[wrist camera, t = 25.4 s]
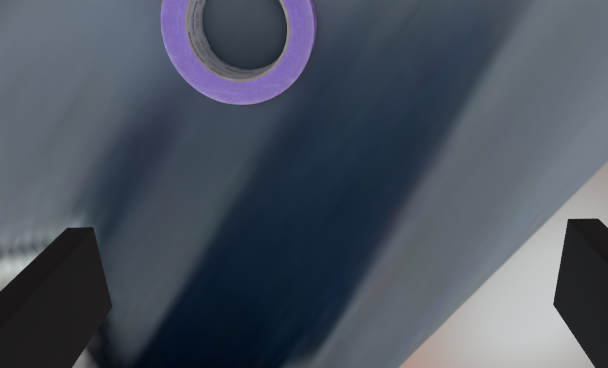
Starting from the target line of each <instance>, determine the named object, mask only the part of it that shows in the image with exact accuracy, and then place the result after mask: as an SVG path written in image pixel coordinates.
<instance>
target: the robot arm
mask: <svg viewBox="0 0 608 368" xmlns="http://www.w3.org/2000/svg"><path fill="white" fill-rule="evenodd" d="M553 305H554V306H555V308H556V309H557V311H558V312H559V314H560V315H561V317H562V318H563V320H564V321H565V323H566V324H567V326H568V327H569V329H570V330H571V332H572V333H573V335H574V336H575V338H576V339H577V341H578V342H579V344H580V345H581V347H582V348H583V350H584V351H585V353H586V354H587V356H588V357H589V359H590V360H591V362H592V364H593V365H594V366H595V368H608V228H607V227H606V226H605V225H604V224H603V223H602V222H601V221H600V220H599V219H568V223H567V228H566V234H565V240H564V246H563V251H562V257H561V264H560V269H559V274H558V280H557V286H556V292H555V297H554V303H553ZM111 308H112V305H111V300H110V296H109V292H108V288H107V283H106V279H105V275H104V271H103V267H102V262H101V258H100V254H99V250H98V245H97V241H96V237H95V233H94V228H93V227H86V228H67V229H66V230H65V231H64V232H62V233H61V234H60V235H59V236H58V237H57V238H56V239H55V240H54V241H53V242H52V243H51V244H50V245H49V246H48V247H47V248H46V249H45V250H44V251H42V252H41V253H40V254H39V255H38V256H37V257H36V258H35V259H34V260H33V261H32V262H31V263H30V264H29V265H28V266H27V267H26V268H25V269H24V270H22V271H21V272H20V273H19V274H18V275H17V276H16V277H15V278H14V279H13V280H12V281H11V282H10V283H9V284H8V285H7V286H6V287H5V288H4V289H2V290H1V291H0V368H72V367H73V365H74V364H75V362H76V361H77V359H78V358H79V356H80V355H81V353H82V352H83V350H84V349H85V347H86V346H87V344H88V343H89V341H90V340H91V338H92V337H93V335H94V334H95V332H96V331H97V329H98V328H99V326H100V325H101V323H102V322H103V320H104V319H105V317H106V316H107V314H108V313H109V311H110V310H111Z"/></svg>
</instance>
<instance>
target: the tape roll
mask: <svg viewBox="0 0 608 368" xmlns="http://www.w3.org/2000/svg"><path fill="white" fill-rule="evenodd" d="M279 1H280V3H281V5H282V7H283V9H284V12H285V16H286V21H287V39H286V43H285V47H284V50H283V52H282V54H281V56H280V57H279V58H278V59H277V60H276V61H274V62H273V63H271V64H270V65H267V66H265V67H262V68H259V69H240V68H236V67H234V66H232V65H230V64H228V63H226V62H224V61H223V60H222V59H221V58H219V57H218V56H217V55H216V53H215V52H214V51H213V50H212V48H211V47H210V45H209V43H208V41H207V38H206V36H205V33H204V29H203V10H204V5H205V2H206V0H163V1H162V7H161V30H162V36H163V40H164V44H165V47H166V50H167V53H168V55H169V57H170V59H171V61H172V63H173V64H174V66H175V68H176V69H177V71H178V72H179V73H180V75H181V76H182V77H183V78H184V79H185V80H186V81H187V82H188V83H189V84H190V85H191V86H192V87H194V88H195V89H196V90H198V91H199V92H201V93H202V94H204V95H206V96H207V97H210V98H212V99H214V100H217V101H220V102H224V103H228V104H237V105H247V104H255V103H259V102H263V101H266V100H269V99H271V98H273V97H275V96H277V95H278V94H280V93H281V92H283V91H284V90H286V89H287V88H288V87H289V86H290V85H291V84H292V83H293V82H294V81H295V80H296V79H297V78H298V77H299V75H300V74H301V72H302V71H303V69H304V67H305V66H306V64H307V61H308V59H309V56H310V54H311V52H312V49H313V46H314V43H315V38H316V31H317V18H316V10H315V5H314V1H313V0H279Z"/></svg>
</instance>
